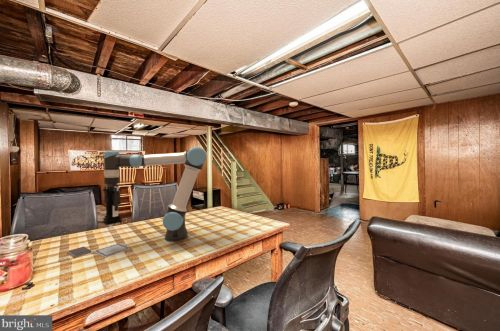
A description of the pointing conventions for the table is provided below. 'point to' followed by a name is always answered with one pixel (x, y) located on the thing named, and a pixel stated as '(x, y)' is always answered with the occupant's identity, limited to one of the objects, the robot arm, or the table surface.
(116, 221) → the chess piece
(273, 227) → the table surface
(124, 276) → the table surface
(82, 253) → the ink pad
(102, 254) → the print sheet
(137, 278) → the table surface
